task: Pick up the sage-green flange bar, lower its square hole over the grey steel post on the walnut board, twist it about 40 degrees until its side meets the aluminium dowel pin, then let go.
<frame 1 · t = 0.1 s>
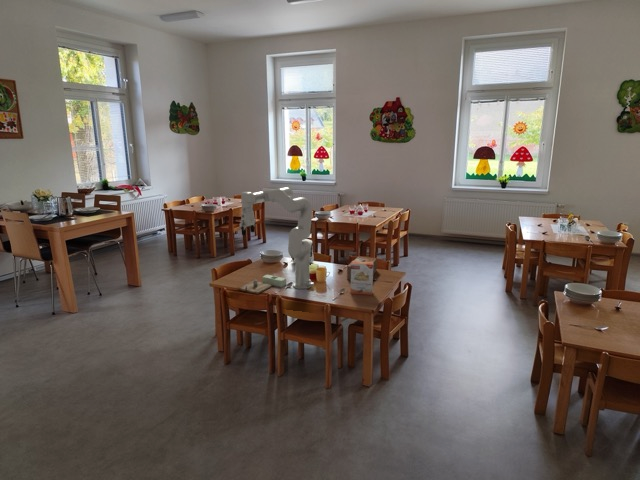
hand: (248, 233, 301), 31 cm above the table, fingers open, 9 cm apart
board: (255, 288, 283), on the table
tissue box cover: (362, 275, 310), on the table
dowel pin: (246, 290, 279), resting on board
cracker box: (361, 293, 275), on the table
milk container: (302, 263, 336), on the table
flange bar: (266, 281, 294), on the table
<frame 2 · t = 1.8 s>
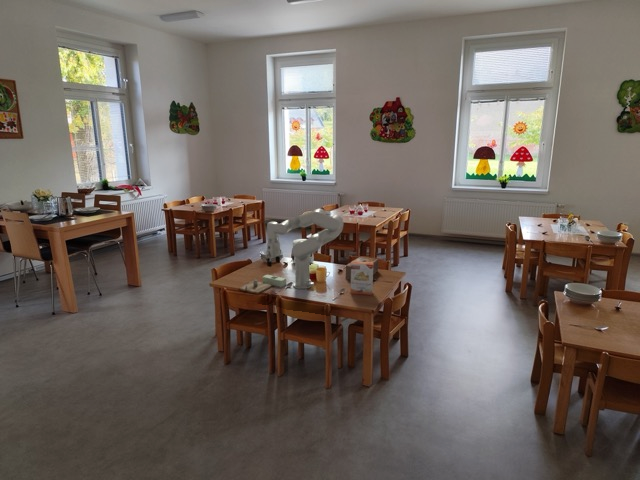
hand: (273, 264, 288), 14 cm above the table, fingers open, 9 cm apart
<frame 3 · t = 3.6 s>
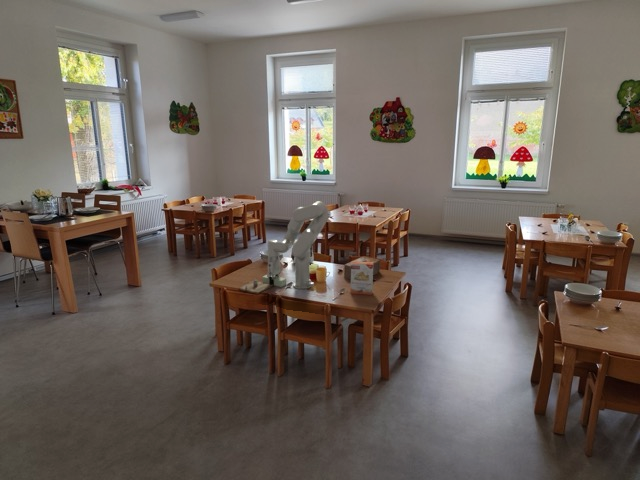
hand: (274, 282, 291), 0 cm above the table, fingers closed on flange bar, 5 cm apart
flange bar: (266, 281, 294), on the table, touching gripper
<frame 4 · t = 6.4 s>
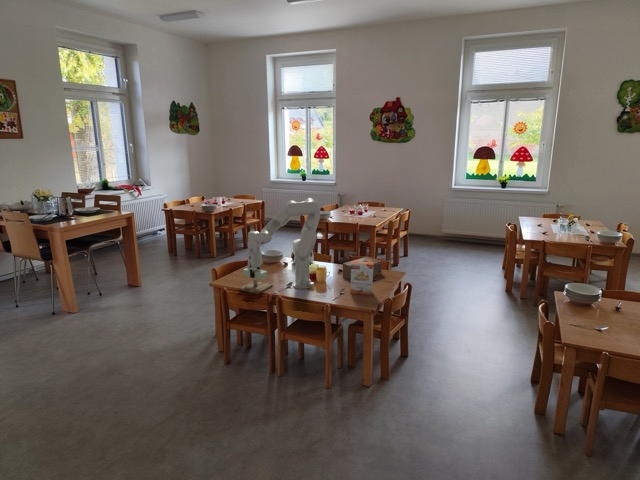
hand: (255, 276, 281), 9 cm above the table, fingers closed on flange bar, 5 cm apart
flange bar: (246, 274, 284), point 8 cm above the table, touching gripper
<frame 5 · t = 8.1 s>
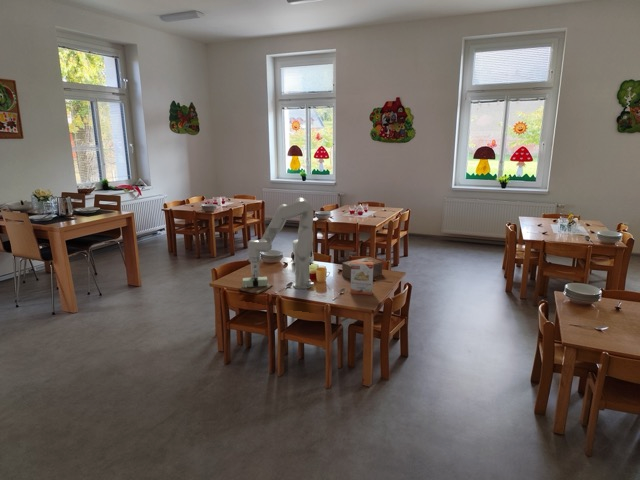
hand: (255, 284, 282), 3 cm above the table, fingers closed on flange bar, 5 cm apart
flange bar: (244, 285, 281), point 2 cm above the table, touching dowel pin, gripper
when the fingers open (3 cm above the table, at t = 9.3 s): flange bar stays where it is, resting on board.
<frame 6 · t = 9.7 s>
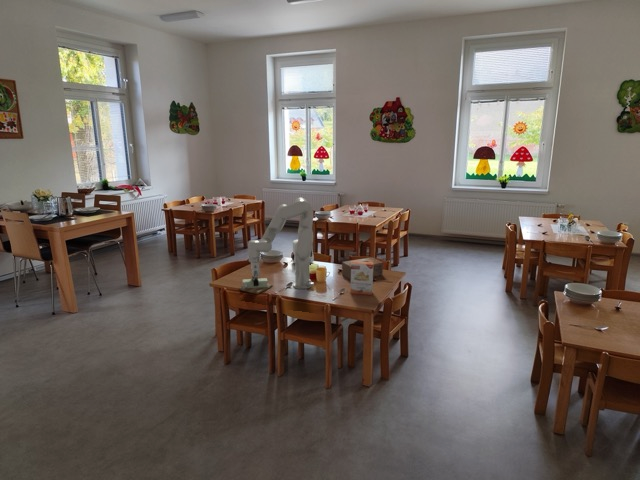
hand: (255, 283, 282), 3 cm above the table, fingers open, 9 cm apart
flange bar: (244, 287, 281), point 1 cm above the table, touching board
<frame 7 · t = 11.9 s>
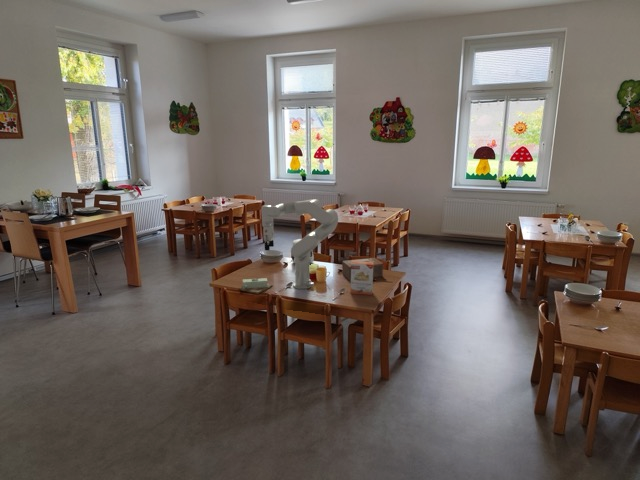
hand: (269, 248, 287), 25 cm above the table, fingers open, 9 cm apart
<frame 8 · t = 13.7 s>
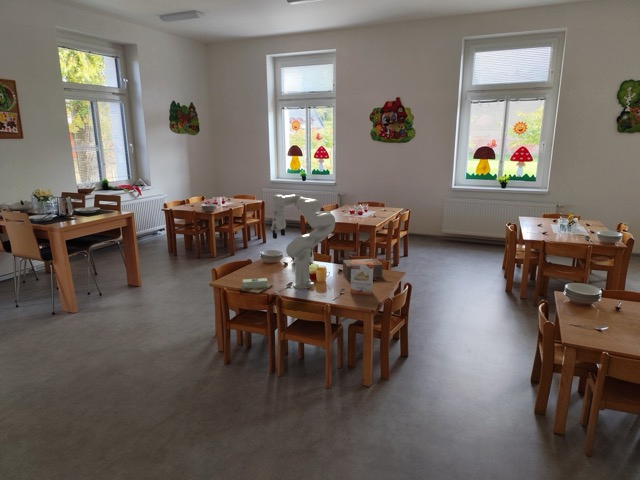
hand: (279, 237, 294), 30 cm above the table, fingers open, 9 cm apart
at the end: flange bar 0.2 cm from the target spot on the board, point 1.2 cm above the board's base; flange bar 3.5 cm from the dowel pin (horizontally); the gripper is holding nothing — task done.
